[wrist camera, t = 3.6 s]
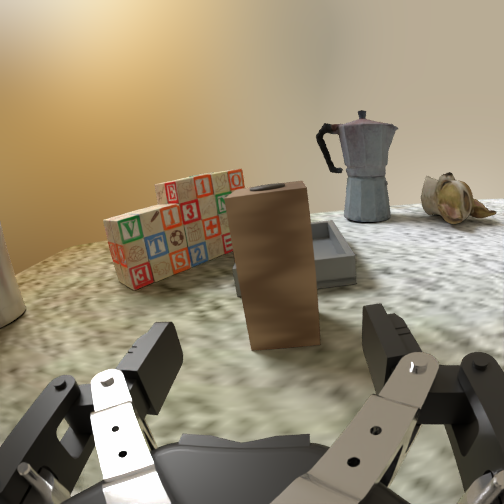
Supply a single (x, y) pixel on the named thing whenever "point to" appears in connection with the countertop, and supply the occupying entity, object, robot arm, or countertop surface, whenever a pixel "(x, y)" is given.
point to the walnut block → (275, 264)
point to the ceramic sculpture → (451, 200)
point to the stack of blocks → (173, 229)
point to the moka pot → (362, 166)
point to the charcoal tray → (327, 257)
